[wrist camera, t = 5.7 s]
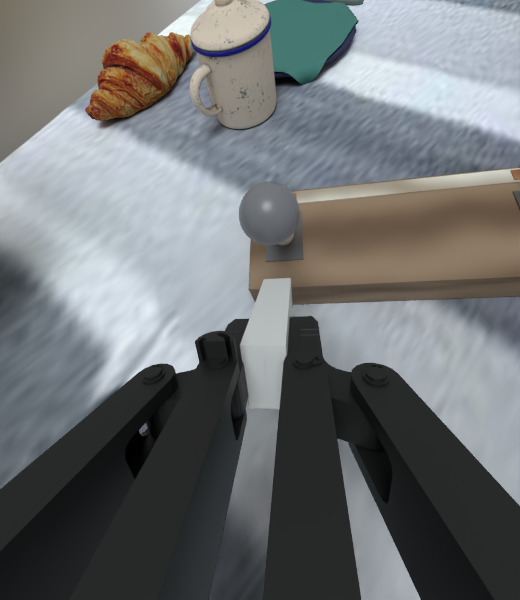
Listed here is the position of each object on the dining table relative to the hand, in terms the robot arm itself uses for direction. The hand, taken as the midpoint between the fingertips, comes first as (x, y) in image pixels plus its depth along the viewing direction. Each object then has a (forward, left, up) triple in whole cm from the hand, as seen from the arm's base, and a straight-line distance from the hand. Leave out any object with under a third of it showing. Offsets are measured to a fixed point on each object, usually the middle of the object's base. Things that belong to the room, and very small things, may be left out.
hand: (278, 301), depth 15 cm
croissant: (-44, +14, -10) cm, 48 cm away
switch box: (+1, +13, -10) cm, 16 cm away
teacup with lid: (-27, +18, -10) cm, 34 cm away
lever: (-6, +6, -6) cm, 10 cm away
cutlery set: (-33, +38, -10) cm, 52 cm away
